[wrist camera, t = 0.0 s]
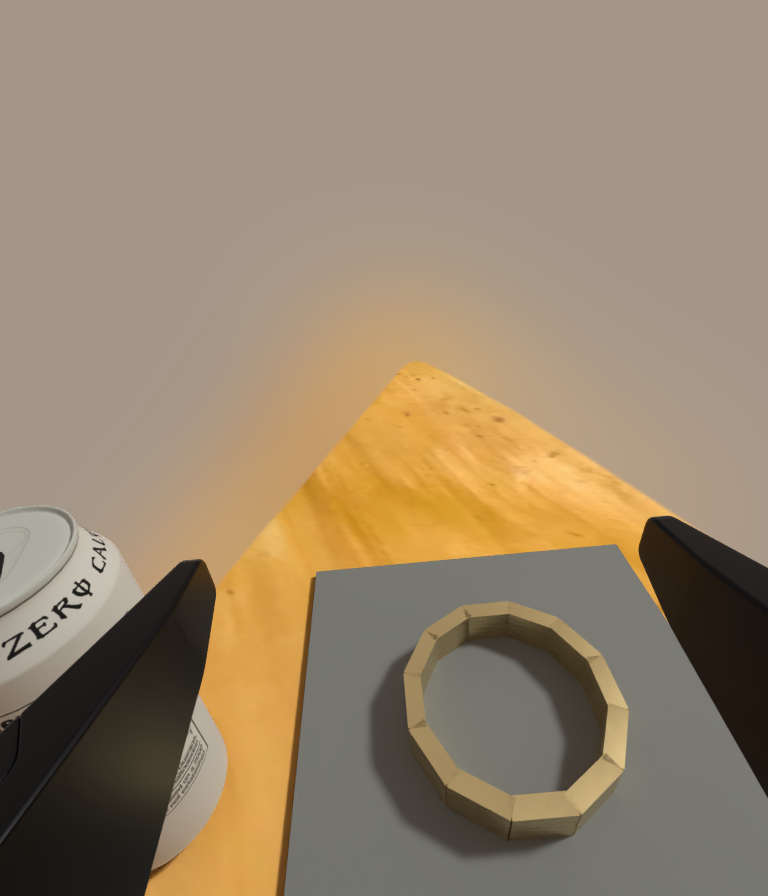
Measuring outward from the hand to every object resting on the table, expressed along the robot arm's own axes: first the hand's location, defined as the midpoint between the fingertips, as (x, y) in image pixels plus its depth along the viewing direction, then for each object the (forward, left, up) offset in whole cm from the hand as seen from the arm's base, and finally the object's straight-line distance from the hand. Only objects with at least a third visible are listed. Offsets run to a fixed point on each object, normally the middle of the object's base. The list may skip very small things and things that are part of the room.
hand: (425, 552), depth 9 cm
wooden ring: (+5, -4, -16) cm, 17 cm away
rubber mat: (+5, -4, -16) cm, 18 cm away
